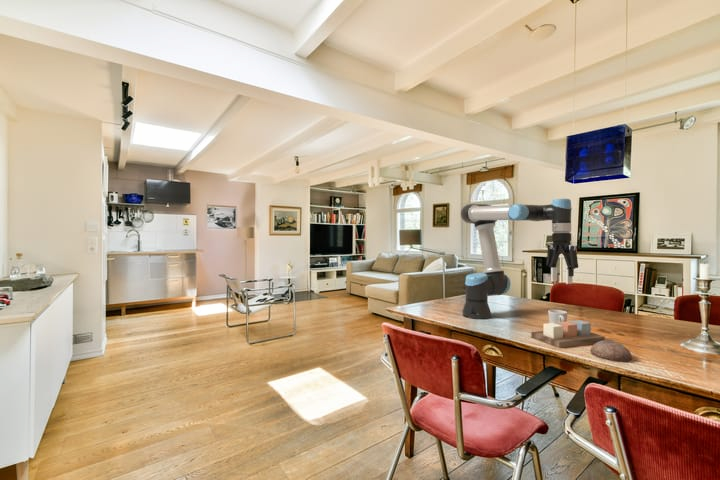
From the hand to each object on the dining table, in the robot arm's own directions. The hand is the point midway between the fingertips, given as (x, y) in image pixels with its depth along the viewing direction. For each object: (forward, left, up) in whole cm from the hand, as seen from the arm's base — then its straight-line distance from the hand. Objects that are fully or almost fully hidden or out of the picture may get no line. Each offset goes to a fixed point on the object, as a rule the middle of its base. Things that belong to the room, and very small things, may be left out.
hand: (561, 282), depth 147 cm
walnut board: (+9, -7, -23) cm, 26 cm away
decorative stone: (+28, -8, -23) cm, 37 cm away
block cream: (+9, -15, -21) cm, 27 cm away
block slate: (+9, 0, -21) cm, 23 cm away
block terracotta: (+9, -7, -21) cm, 24 cm away
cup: (-5, +4, -23) cm, 24 cm away
